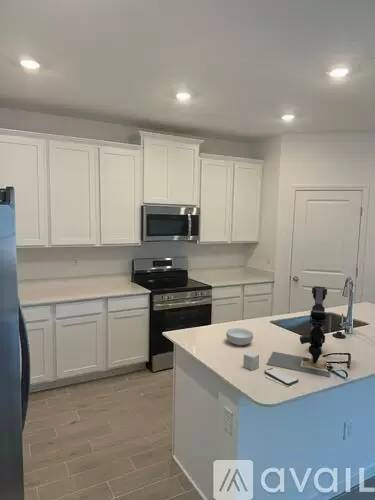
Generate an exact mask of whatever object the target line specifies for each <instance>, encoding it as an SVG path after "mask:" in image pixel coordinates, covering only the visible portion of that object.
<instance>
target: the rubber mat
mask: <svg viewBox="0 0 375 500" xmlns="http://www.w3.org/2000/svg"><path fill="white" fill-rule="evenodd" d="M304 357H305V356H300V355H295V354H290V353H282V352H278V351H272V353H271V355H270V357H269V358H268V361H267V363H266V365H267V366H269V367H270V366H271V367H276V368H279V369H287V370H291V371H296V372H301V373H306V374H309V375H310V374H311V375H315V376H322V377H326V378H327V377H328V378H331V371H328V370H327V369H326V370H325V369H320V368H314V367H309V366H304V365H303V358H304ZM305 358H307V357H305ZM309 358H310V357H309ZM310 359H312V358H310ZM320 360H321V359H320ZM321 361H323V360H321ZM325 361H326V362H329V361H327V360H325ZM327 366H332V362H331V363H328V364H327Z"/></svg>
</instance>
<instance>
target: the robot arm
mask: <svg viewBox="0 0 375 500" xmlns="http://www.w3.org/2000/svg"><path fill="white" fill-rule="evenodd" d="M311 294H312V297H313V300H314V305H313V306H312V310H310V313H309V314H310V317H309V324H311V328H310V330H309V333H308V334H305V335H300V336H299V343H300V344H301V345H305V344H309V346H308V353H309V354H310V355H311V357H312V358H311V359H313V363H314V364H316V362H317V360H319V359H320V357H321V355H322V352H323V351H322V349H323V348H322V347H323V345H324V343H326V335H325V333H324V326H325V325H326V324H328V323H327V319H328V315H327V312H326V310H325V307H324V305H323V302H324V301H325V299H326V296H328V288H326V286H318V285H317V286H316V285H315V286H314V287H312V288H311Z"/></svg>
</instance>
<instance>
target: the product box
mask: <svg viewBox="0 0 375 500" xmlns="http://www.w3.org/2000/svg"><path fill="white" fill-rule="evenodd" d="M242 363H243V366H242V367H243V368H245V369H247V370H250V371H255V370H257V369H258V368H260V354H259V353H256V352H253V351H248V352H245V353H244V354H243V362H242Z"/></svg>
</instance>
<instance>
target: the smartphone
mask: <svg viewBox="0 0 375 500" xmlns="http://www.w3.org/2000/svg"><path fill="white" fill-rule="evenodd" d="M263 372H264V374H265V375H267V376H268V377H270V378H272V379H274V380H275V381H277V380H278V382H279V381H280V382H279V383H281V382H282V384H283V385H284V386H287V387H288V386H292V385H294V384H297V383H299V379H298V378H297V377H295V376H293V375H291V374H289V373H287V372H285V371H284V370H281V368H279V367H275V366H272V367H270V368H268V369H265V370H264V371H263Z"/></svg>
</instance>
